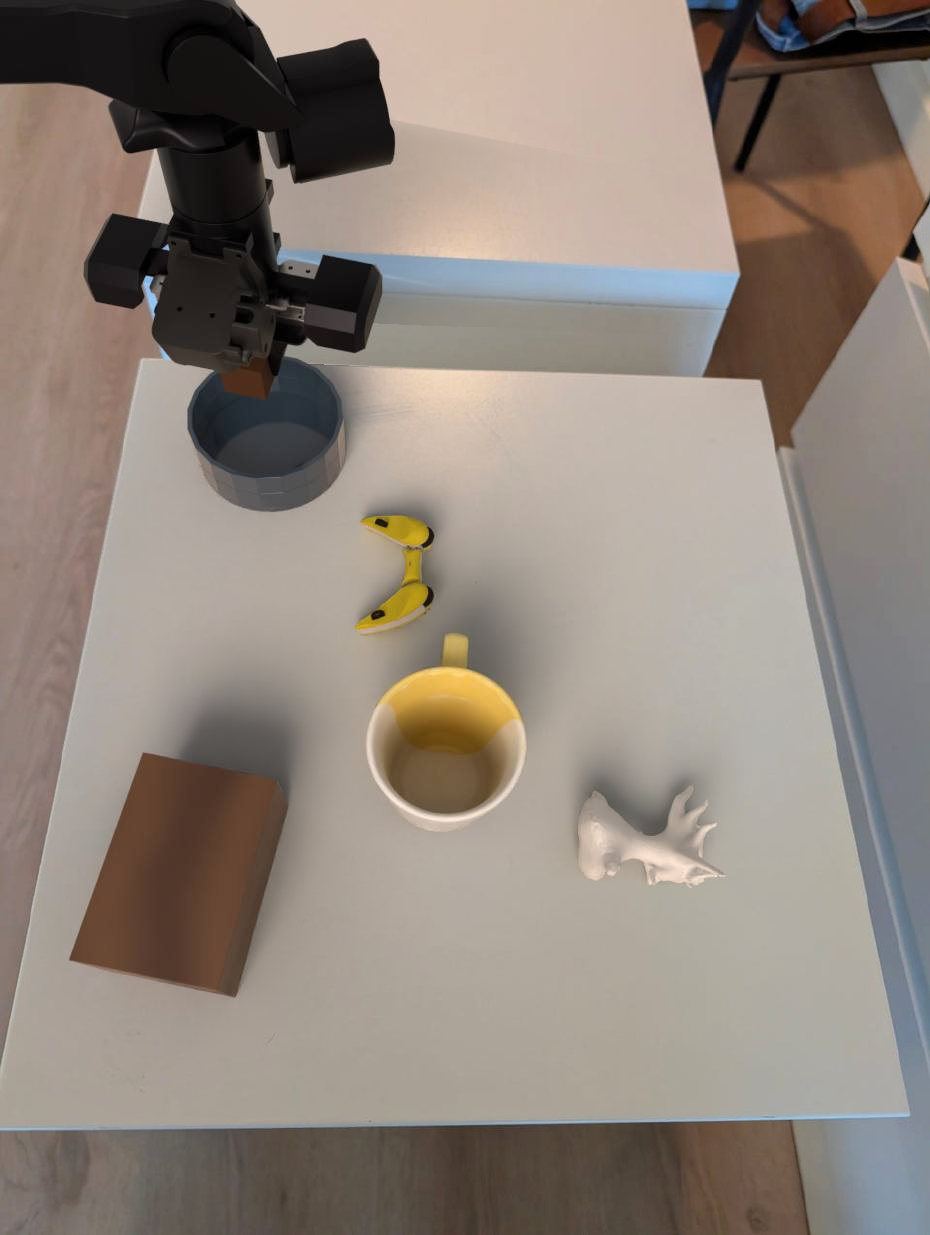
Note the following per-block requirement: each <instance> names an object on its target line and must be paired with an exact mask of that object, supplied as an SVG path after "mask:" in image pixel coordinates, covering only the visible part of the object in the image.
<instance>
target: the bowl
mask: <svg viewBox="0 0 930 1235" xmlns="http://www.w3.org/2000/svg"><path fill="white" fill-rule="evenodd" d="M186 413H187V415H186V416H187V420H186V421H187V422H186V424H187V425H186V427H187V432H188V435H189V438H190V442H191V443H192V447H193V450H194V453H195V456H196V459H197V462H198V464H199V467H200V469H201V472H202V474H203V476H204V478H205V480H206V482H207V483H208V485H209V486H210V487H211V489H213V491H214V492H216V493H217V495H219V496H220V497H221V498H223V499H224V500H226V501H227V502H229V503H231V504H233V505H235V506H237V507H241V508H243V509H247V510H251V511H257V512H263V513H264V512H265V513H266V512H267V513H268V512H269V513H273V512H274V513H275V512H284V511H289V510H294V509H297V508H300V507H302V506H304V505H307V504H309V503H311V502H312V501H314V500H316V499H318V498H319V497H321V496H322V495H323V494H324V493H325V492H327V491H328V490H329V488H331V486H332V485H333V484H334V483H335V481H336V480H337V479H338V477H339V475H340V474H341V472H342V469H343V466H344V464H345V458H346V450H347V449H346V437H345V436H346V435H345V424H344V412H343V401H342V399H341V396H340V394H339V392H338V390H337V388H336V387H335V385H334V382H332V381H331V379H329V378H328V376H326V375H325V374H324V373H323V372H322V371H321V370H320V369H319V368H318V367H316V366H314V365H312V364H310V363H308V362H306V361H303V360H302V359H299V358H297V357H292V356H287V355H284V358H283V361H282V365H281V368H280V371H279V373H278V376H275V378H274V381H273V383H272V386H271V389H270V392H269V394H268V397H267V399H266V400H264V399H259V398H254V397H249V396H244V395H239V394H234V393H229V392H225V390H224V386H223V382H222V378H221V374H220V372H216V371H214V370H212V372H209V374H208V375H207V376H206V377H205V378H204V379H203V380H202V381H201V383H200V384H199V385H198V386H197V387H196V388H195V389H194V391H193V393H192V397H191V399H190V402H189V404H188V406H187V410H186Z"/></svg>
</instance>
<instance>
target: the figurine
mask: <svg viewBox="0 0 930 1235" xmlns="http://www.w3.org/2000/svg"><path fill="white" fill-rule="evenodd" d="M693 792H694V786H693V784H690V785H689V786H687V787H686V789H685V790H684V791H683V792H680V793H678V794H677V795H676V796H675V797H674V798H673V801H672V803H671V806H670V810H669V813H668V818H667V825H666V827H665V829H664V830H663V831H662V832H660V833H659V834H656V835H647V834H644V833H643V831H642V830H639V831H637V830H635V828H633V827H632V826H631V825H630V824H629V823H628V822H626V820H625V819H624V818H623V817H622V816H621V815H620V814H619V813H618V812H617V811H615V810H614V809H613V808H612V807H610V805H609V803H608V800H607V799H606V797H605V796H604V795H603V794H601V793H600V792H599V791H597V790H593V791H592V792H591V797H589V798H587V799H586V800H585V803H584V804H583V806H582V809H581V810H580V813H579V816H578V820H577V835H578V839H579V841H578V847H577V848H578V849H577V862H578V865H579V869H580V871H581V872H582V874H583V875H584V876H585V877H586V878H588V879H589V880H592V881H600V880H602V878H604V876H606V874H607V875H608V876H610V877H615V875H616V874H617V872H619V870H620V869H621V866H622V863H624V862H626V861H628V860H634V859H635V860H638V861H641V862H642V863H643V865H644V866H643V867H644V869H645V870H644V871H645V879H646V883H647V885H649V886H655V885H656V884H657V883H659V882H660V881H663V882H672V883H676V884H681V883H685V885H686V886H687V887H688V888H689V889H693V888H692V886H691V885H693V886H698V885H699V884H701V883H703V882H705V879H706V878H718V877H720V878H725V877H727V876H726V874H725V873H724V872H723V871H722V870H720V869H719V868H717V867H716V866H714V865H713V864H710V863H709V862H708V861H706V860H704V857H703V854H704V840H705V837H706V834H707V833H708V831H710V830H711V829H713V828H716V827H717V825H718V823H717V822H713V821H711V822H707V823H704V824H702V825H699V824H697V823H698V822H697V821H698V818H699V817H700V816H701V815H702V814H703V813H704V812H705V811H706V809H707V808H708V806H709V800H708V798H707V799H705V801H704V802H703V803H702V804H701V805H699V806H698V807H696V808H693V809H691V810H689V811H688V812H685V810H686V809H685V804H686V802H687V800H689V798H691V797H692V794H693ZM704 871H707V872H704ZM690 884H691V885H690Z"/></svg>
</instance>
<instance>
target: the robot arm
mask: <svg viewBox="0 0 930 1235" xmlns="http://www.w3.org/2000/svg"><path fill="white" fill-rule="evenodd" d="M380 68H381V65H380V59H379V58H378V56H377V54H376V52H375V50H374V48H373V47H372V45H371V43H370V41H369V40H368V39H367V38H366V37H362V38H361V37H360V38H356V39H351V40H347V41H343V42H341V43H339V44H336V45H335V46H331V47H327V48H322V49H317V50H311V51H305V52H300V53H295V54H290V55H289V54H288V55H283V56H278V57H275V56H274V54H273V52H272V50H271V47H270V45H269V43H268V41H267V39H266V37H265V35H264V33H263V31H262V29H261V27H260V26H258V24H257V23H256V22H255V21H254V20H253V19H252V18H251V17H250V16H249V15H248V14H247V13H246V12H245V11H244V10H243V9H242V8H241V7H240V6H239V4H237V1H236V0H0V85H53V84H56V85H66V86H73V87H80V88H85V89H88V90H90V91H93V92H95V93H98V94H100V95H103V96H105V97H107V98H110V99H112V100H111V101H109V104H108V106H107V110H108V113H109V115H110V118H111V121H112V123H113V126H114V129H115V132H116V134H117V137H118V141H119V143H120V146H121V149H122V150H123V152H124V153H127V154H129V155H130V154H131V155H132V154H136V153H142V152H147V151H152V150H156V153H157V156H158V161H159V164H160V168H161V172H162V175H163V179H164V184H165V187H166V191H167V194H168V199H169V202H170V206H171V210H172V216H171V218H170V220H169V222H168V223H165V222H159V221H154V220H149V219H145V218H139V217H135V216H129V215H124V214H119V213H115V212H114V213H113V212H112V213H111V214H110V215H109V216H108V217H107V219H105V220H104V223H103V225H102V227H101V229H100V231H99V233H98V234H97V237H96V238H95V241H94V242H93V244H92V246H91V248H90V250H89V252H88V254H87V255H86V258H85V260H84V262H83V274H82V276H83V278H84V281H85V284H86V287H87V289H88V291H89V293H90V295H91V297H92V298H93V300H94V302H95V303H98V304H104V305H109V306H115V307H119V308H124V309H130V310H135V309H136V308H137V307H138V306H140V305H141V304H142V303H143V302H144V300H145V292H144V290H143V287H142V285H143V283H144V282H145V279H146V277H150V278H152V280H151V282H150V284H149V285H148V286H149V291H150V293H151V294H154V296H155V299H156V304H155V307H154V308H153V313H154V314H153V315H154V316H153V320H152V325H151V335H152V338H153V340H154V341H155V342H156V343H157V344H158V346H159V347H160V348H161V349H162V350H163V352H164V353H165V354H166V355H167V357H168V358H170V360H171V361H172V362H173V363H175V364H177V365H181V366H191V367H195V368H201V369H204V370H210V371H216V372H220V373H231V372H234V371H236V370H237V369H238V368H239V367H240V365H242V366H247V367H248V366H249V365H250V362H251V359H253V358H255V357H258V358H263V359H265V358H266V357H267V356H268V362H269V366H270V369H271V372H272V375H273V376H278V373H279V371H280V368H281V365H282V361H283V358H284V356H286V351H287V349H288V345H289V346H292V347H293V346H294V347H300V346H302V345H304V344H305V343H306V342H307V340H309V341H311V342H312V343H313V344H314V345H315V346H317V347H321V348H325V349H331V350H336V351H341V352H346V353H351V354H356V353H359V352H361V351H363V350H365V349H366V348H367V344H368V341H369V338H370V335H371V332H372V328H373V324H374V322H375V319H376V315H377V312H378V308H379V306H380V303H381V299H382V295H383V274H382V273H381V271H380V269H379V267H378V266H377V265H376V264H374V263H369V262H363V261H359V260H353V259H348V258H342V257H337V256H333V255H328V254H322V256H321V259H320V262H319V265H318V264H313V263H309V262H308V263H307V262H303V261H297V260H292V259H289V260H285V261H283V262H282V263H280V264H278V256H279V254H280V251H281V248H282V239H281V233H280V232H276V231H274V230H273V225H272V224H273V223H272V216H271V210H270V205H271V203H272V200H273V199H274V196H275V189H274V180H273V179H272V178H266V176H265V170H264V163H263V157H262V149H261V142H260V135H259V132H261V133H263V135H264V138H265V141H266V145H267V148H268V152H269V154H270V157H271V160H272V163H273V164H274V165H275V168H276V169H277V170H281V169H282V170H283V169H285V168H288V167H289V172H290V175H291V179H292V182H293V184H294V185H296V184H306V183H310V182H315V181H319V180H325V179H329V178H334V177H339V176H342V175H349V174H353V173H357V172H362V171H366V170H370V169H376V168H380V167H384V166H389V165H392V163H393V161H394V158H395V154H396V153H395V152H396V133H395V130H394V127H393V126H392V123H391V119H390V113H389V107H388V106H389V105H388V102H387V98H386V93H385V90H384V86H383V83H382V80H381V74H380V72H381V70H380ZM166 246H168V249H164V248H165V247H166Z"/></svg>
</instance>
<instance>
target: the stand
mask: <svg viewBox="0 0 930 1235" xmlns="http://www.w3.org/2000/svg"><path fill="white" fill-rule="evenodd" d="M288 810H289V804H288V801H287V799H286V797H285V795H284V792H283V790H282V788H281V785H280V783H279V781H278V779H276V778H271V777H265V776H261V775H255V774H251V773H246V772H241V771H236V770H231V769H227V768H222V767H217V766H211V765H206V764H202V763H197V762H192V761H187V760H182V759H178V758H173V757H168V756H164V755H158V754H153V753H148V752H142V754H141V756H140V758H139V762H138V765H137V767H136V769H135V773H134V776H133V779H132V781H131V784H130V787H129V790H128V793H127V796H126V798H125V801H124V803H123V806H122V809H121V812H120V815H119V817H118V821H117V823H116V826H115V830H114V832H113V835H112V838H111V841H110V843H109V846H108V848H107V851H106V854H105V857H104V860H103V863H102V865H101V868H100V871H99V874H98V877H97V879H96V883H95V885H94V888H93V890H92V891H93V892H92V893H91V897H90V899H89V901H88V905H87V908H86V910H85V912H84V916H83V918H82V922H81V924H80V927H79V930H78V933H77V935H76V938H75V941H74V944H73V946H72V950H71V952H70V955H69V957H68V961H70V962H73V963H77V964H81V965H84V966H88V967H91V968H95V969H99V970H102V971H107V972H111V973H115V974H121V975H125V976H130V977H134V978H135V977H136V978H140V979H144V980H148V981H149V980H150V981H154V982H159V983H164V984H169V985H173V986H179V987H183V988H188V989H193V990H197V991H202V992H206V993H212V994H215V995H221V996H226V997H231V998H236V997H237V994H238V990H239V987H240V983H241V979H242V975H243V973H244V968H245V965H246V962H247V958H248V957H247V956H248V954H249V950H250V947H251V943H252V939H253V937H254V932H255V928H256V925H257V921H258V918H259V914H260V910H261V907H262V904H263V900H264V897H265V892H266V889H267V885H268V882H269V879H270V876H271V875H270V874H271V870H272V867H273V864H274V860H275V856H276V853H277V849H278V846H279V843H280V842H279V841H280V838H281V834H282V831H283V827H284V824H285V821H286V817H287V812H288Z"/></svg>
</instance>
